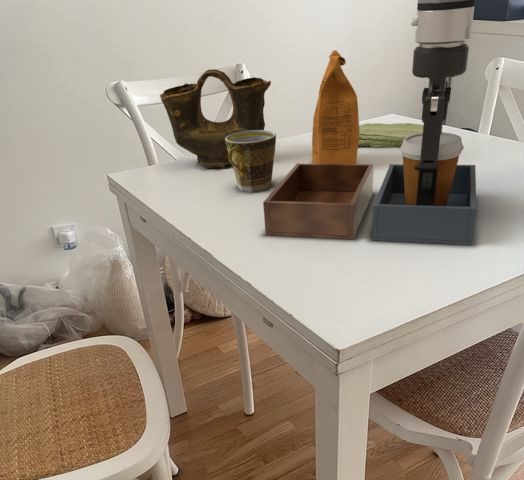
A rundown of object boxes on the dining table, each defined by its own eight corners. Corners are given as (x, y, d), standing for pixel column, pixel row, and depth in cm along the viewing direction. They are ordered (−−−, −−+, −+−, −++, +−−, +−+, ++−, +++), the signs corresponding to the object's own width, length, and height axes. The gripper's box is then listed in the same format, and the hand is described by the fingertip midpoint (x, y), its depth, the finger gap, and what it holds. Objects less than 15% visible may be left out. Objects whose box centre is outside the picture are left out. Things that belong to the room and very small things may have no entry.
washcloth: (422, 148, 125) (423, 133, 123) (346, 147, 130) (347, 133, 129) (427, 134, 135) (428, 120, 133) (357, 134, 140) (357, 121, 139)
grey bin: (470, 196, 97) (475, 164, 94) (470, 245, 80) (476, 208, 77) (388, 194, 101) (390, 164, 98) (371, 240, 84) (373, 205, 81)
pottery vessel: (276, 153, 131) (270, 61, 120) (275, 165, 122) (269, 68, 111) (175, 160, 133) (160, 71, 122) (167, 173, 124) (150, 78, 113)
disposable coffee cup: (419, 228, 85) (426, 150, 78) (384, 211, 92) (388, 138, 86) (467, 215, 88) (478, 139, 81) (430, 199, 95) (437, 128, 89)
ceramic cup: (246, 177, 117) (242, 128, 111) (287, 181, 112) (284, 131, 107) (213, 196, 108) (206, 145, 102) (255, 202, 103) (251, 148, 98)
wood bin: (372, 194, 102) (373, 164, 99) (353, 239, 85) (354, 205, 82) (297, 192, 106) (296, 163, 103) (265, 235, 89) (263, 202, 86)
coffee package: (355, 156, 124) (358, 47, 111) (359, 172, 113) (362, 54, 101) (312, 158, 125) (309, 51, 112) (312, 175, 114) (309, 58, 102)
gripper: (419, 37, 85) (408, 180, 98) (407, 55, 69) (396, 223, 82) (469, 34, 83) (452, 181, 96) (469, 52, 67) (448, 225, 80)
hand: (426, 200), depth 89 cm, fingers closed on disposable coffee cup, 8 cm apart
